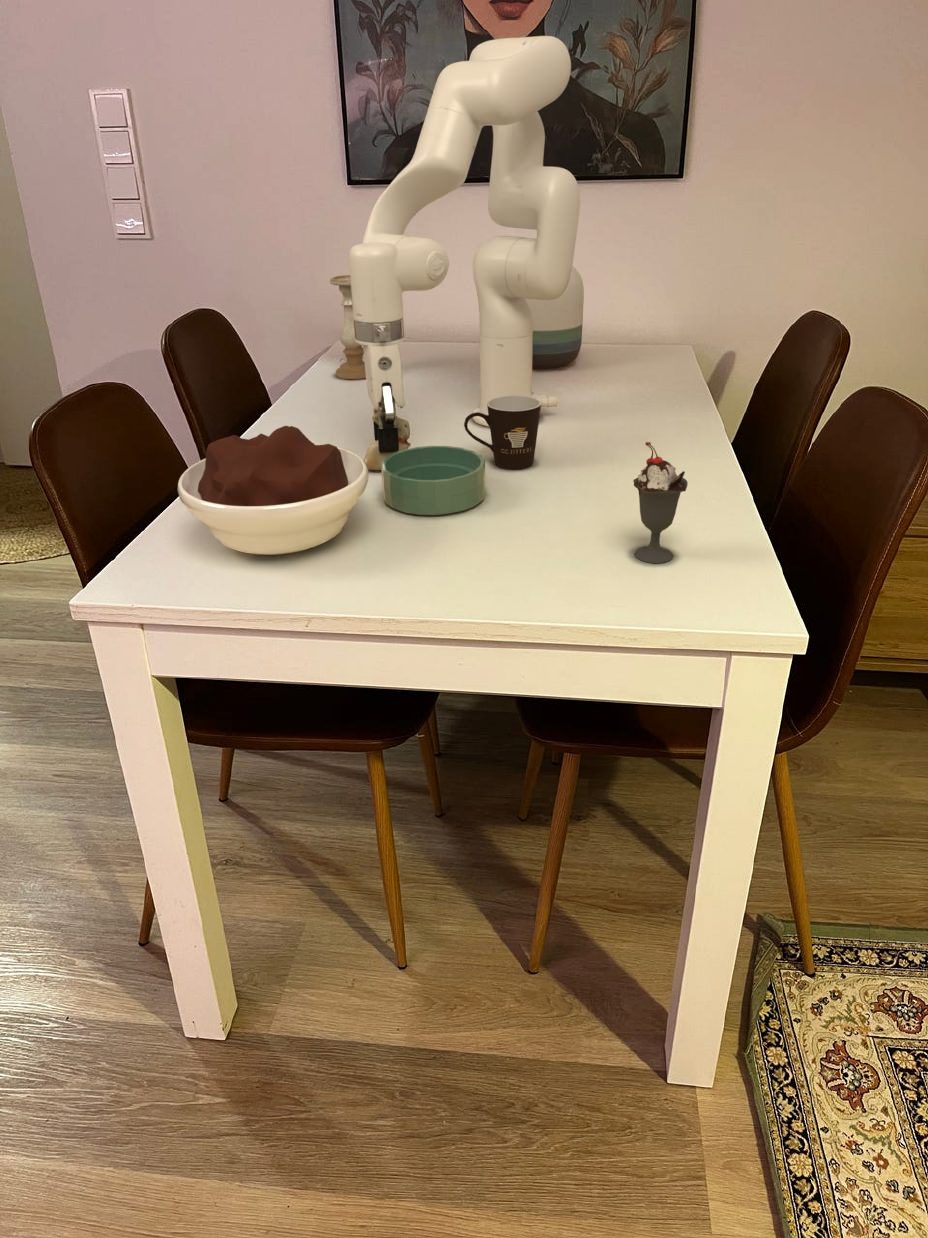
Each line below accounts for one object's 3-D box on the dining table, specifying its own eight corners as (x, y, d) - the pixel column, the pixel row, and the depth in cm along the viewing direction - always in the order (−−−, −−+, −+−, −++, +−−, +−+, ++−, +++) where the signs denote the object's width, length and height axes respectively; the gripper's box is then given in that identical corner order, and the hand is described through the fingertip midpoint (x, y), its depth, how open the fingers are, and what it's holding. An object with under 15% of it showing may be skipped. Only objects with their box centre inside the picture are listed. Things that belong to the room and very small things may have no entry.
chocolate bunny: (412, 468, 146) (409, 407, 141) (363, 470, 146) (358, 409, 141) (411, 457, 151) (408, 397, 146) (363, 459, 150) (359, 399, 145)
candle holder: (383, 372, 201) (377, 275, 191) (359, 381, 195) (351, 282, 185) (352, 367, 205) (344, 272, 195) (327, 376, 199) (318, 279, 189)
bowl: (472, 475, 144) (472, 441, 142) (495, 511, 131) (495, 475, 129) (378, 484, 142) (375, 450, 139) (391, 522, 129) (389, 485, 126)
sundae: (621, 545, 120) (629, 436, 113) (671, 543, 121) (682, 434, 113) (634, 568, 115) (643, 454, 107) (686, 565, 115) (698, 451, 108)
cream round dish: (343, 584, 112) (331, 468, 105) (156, 572, 116) (132, 460, 109) (392, 507, 134) (385, 406, 126) (232, 499, 138) (217, 401, 130)
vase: (531, 351, 215) (532, 242, 203) (594, 360, 206) (599, 247, 194) (491, 367, 203) (490, 252, 191) (556, 377, 194) (559, 257, 182)
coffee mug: (545, 456, 151) (547, 397, 146) (532, 474, 144) (533, 412, 139) (479, 450, 154) (478, 392, 150) (463, 467, 147) (461, 407, 142)
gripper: (412, 341, 131) (418, 461, 140) (395, 318, 146) (402, 428, 155) (360, 344, 130) (369, 465, 139) (349, 321, 144) (358, 432, 153)
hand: (386, 445), depth 147 cm, fingers closed on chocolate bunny, 4 cm apart
